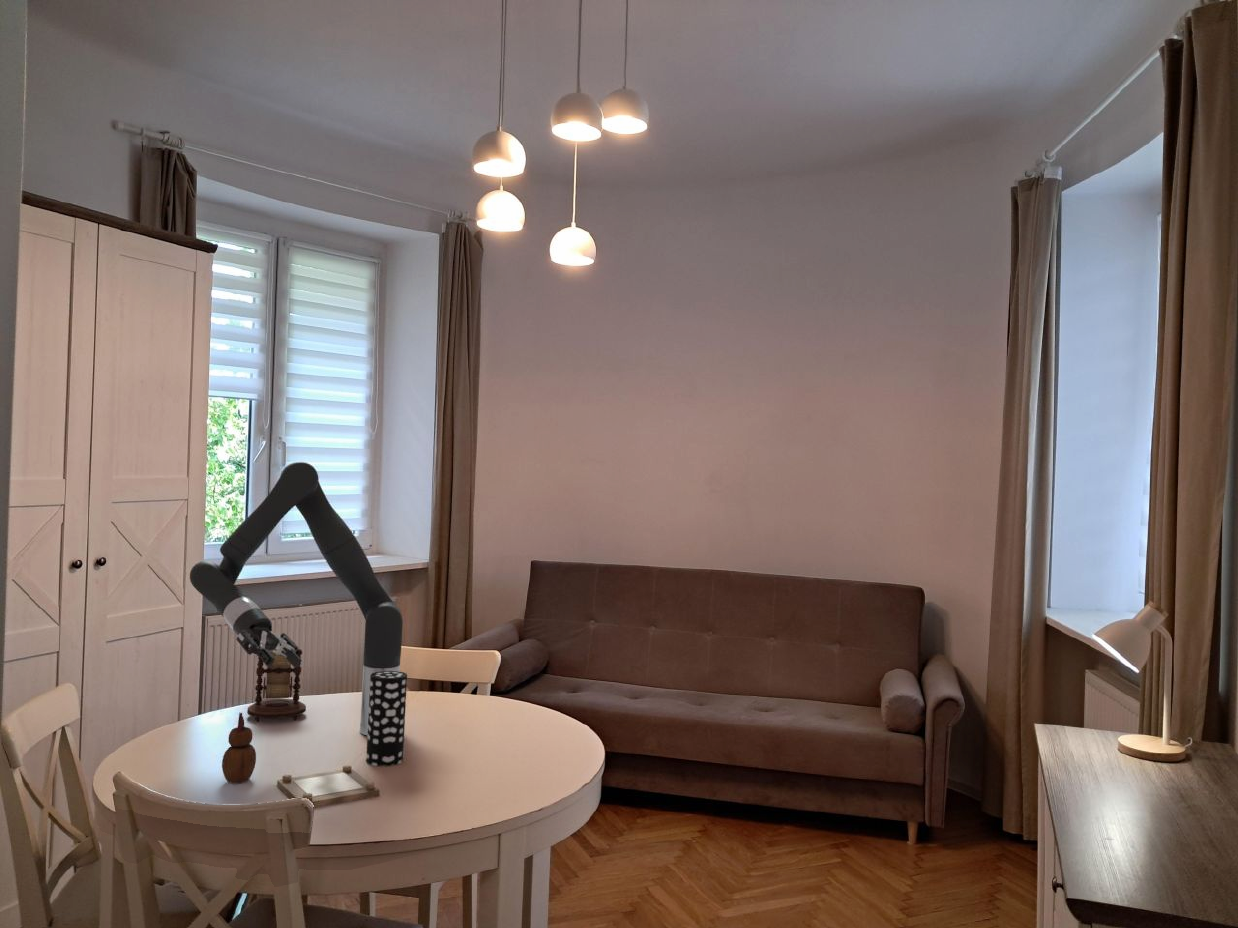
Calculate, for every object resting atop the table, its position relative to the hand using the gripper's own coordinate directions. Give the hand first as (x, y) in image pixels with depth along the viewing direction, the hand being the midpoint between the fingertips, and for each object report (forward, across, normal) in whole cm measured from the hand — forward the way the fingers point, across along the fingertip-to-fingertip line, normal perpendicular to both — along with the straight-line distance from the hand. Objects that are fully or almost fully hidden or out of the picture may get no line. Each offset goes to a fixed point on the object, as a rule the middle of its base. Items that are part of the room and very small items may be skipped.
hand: (285, 663), depth 206 cm
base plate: (+30, -4, +9) cm, 32 cm away
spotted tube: (+26, +18, +8) cm, 32 cm away
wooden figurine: (+14, -9, +21) cm, 26 cm away
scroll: (-16, +33, +30) cm, 47 cm away
